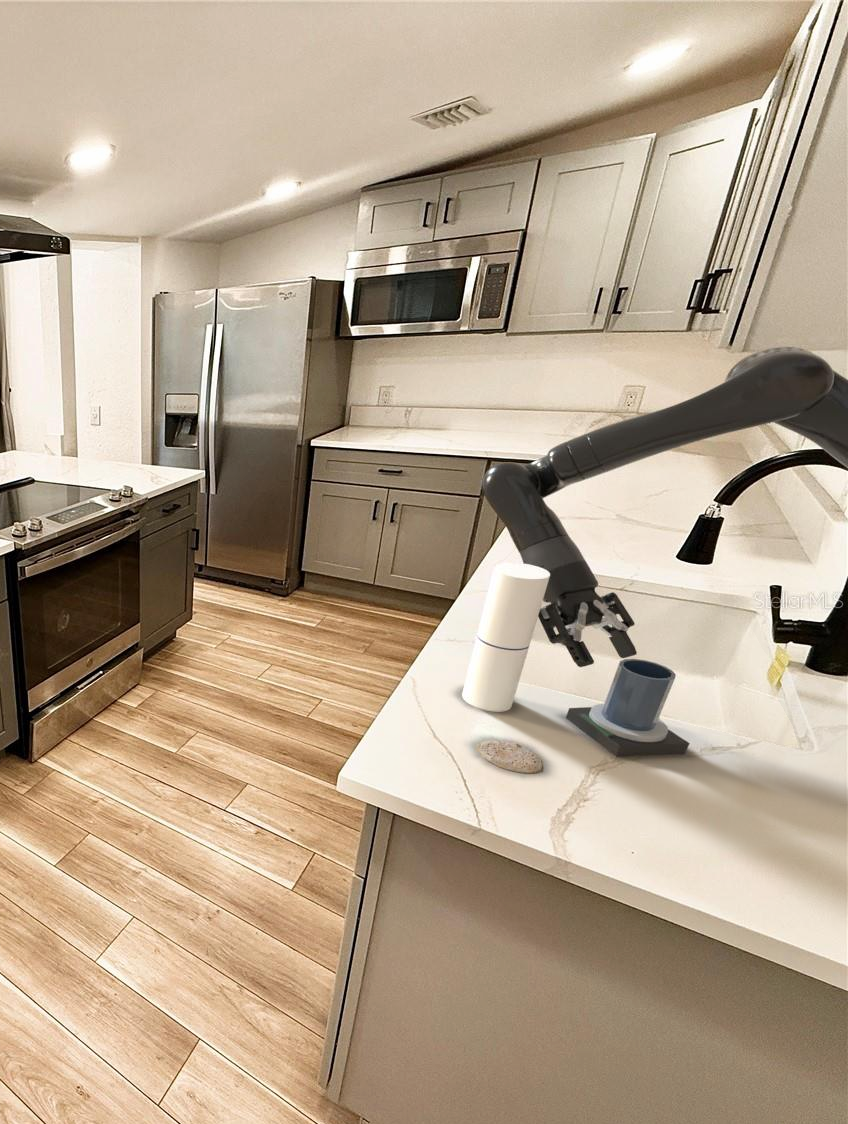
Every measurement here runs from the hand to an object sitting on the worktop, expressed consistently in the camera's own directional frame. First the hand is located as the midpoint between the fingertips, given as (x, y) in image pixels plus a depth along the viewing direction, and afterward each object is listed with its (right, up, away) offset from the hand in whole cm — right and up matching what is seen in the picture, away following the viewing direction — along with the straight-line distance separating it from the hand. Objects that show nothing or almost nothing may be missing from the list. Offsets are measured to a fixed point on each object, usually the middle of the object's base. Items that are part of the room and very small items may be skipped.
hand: (608, 661), depth 96 cm
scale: (+2, -12, 0) cm, 12 cm away
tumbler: (+2, -9, -1) cm, 9 cm away
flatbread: (-18, -15, -3) cm, 23 cm away
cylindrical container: (-12, -9, +11) cm, 18 cm away
